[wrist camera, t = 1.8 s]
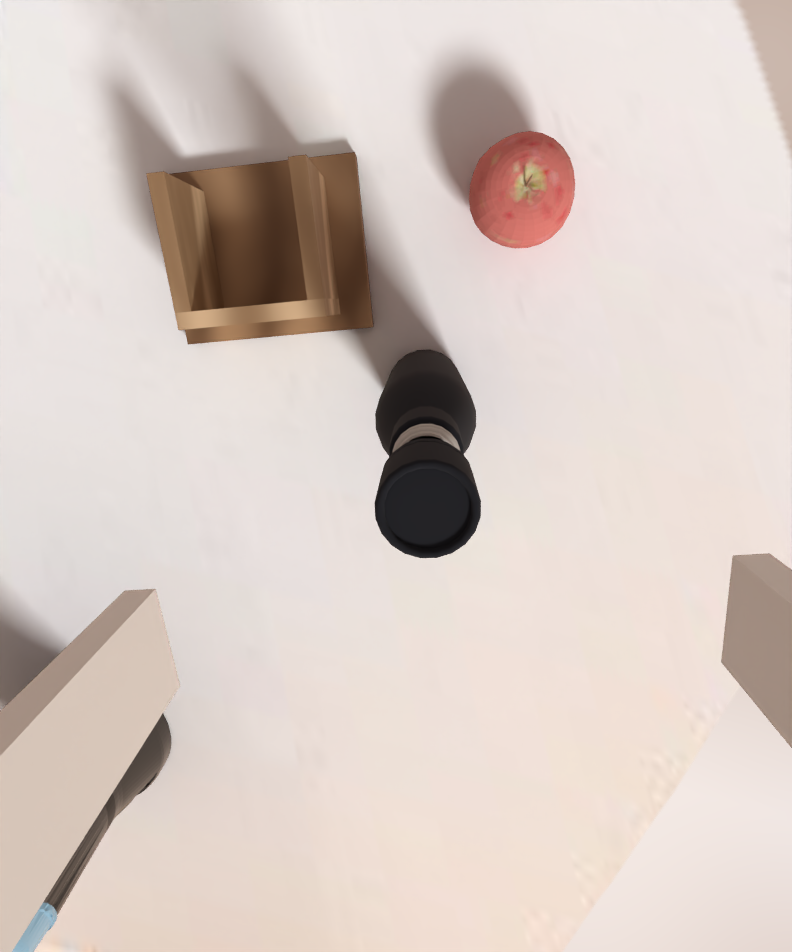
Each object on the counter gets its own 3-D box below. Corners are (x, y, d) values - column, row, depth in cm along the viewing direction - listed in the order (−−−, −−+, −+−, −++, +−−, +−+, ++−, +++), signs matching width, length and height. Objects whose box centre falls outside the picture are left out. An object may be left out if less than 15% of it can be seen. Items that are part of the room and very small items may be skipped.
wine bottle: (407, 336, 47) (383, 392, 18) (473, 368, 47) (551, 471, 19) (376, 403, 49) (312, 548, 20) (441, 433, 49) (466, 615, 21)
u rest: (193, 343, 48) (148, 351, 40) (160, 179, 44) (104, 152, 36) (373, 326, 47) (363, 331, 39) (356, 156, 43) (341, 123, 35)
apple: (464, 153, 42) (473, 121, 35) (560, 146, 42) (590, 112, 34) (466, 255, 45) (474, 246, 37) (556, 249, 44) (584, 239, 37)
